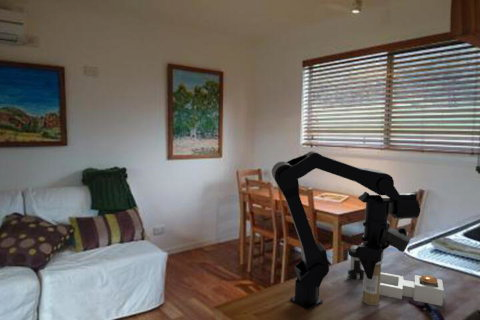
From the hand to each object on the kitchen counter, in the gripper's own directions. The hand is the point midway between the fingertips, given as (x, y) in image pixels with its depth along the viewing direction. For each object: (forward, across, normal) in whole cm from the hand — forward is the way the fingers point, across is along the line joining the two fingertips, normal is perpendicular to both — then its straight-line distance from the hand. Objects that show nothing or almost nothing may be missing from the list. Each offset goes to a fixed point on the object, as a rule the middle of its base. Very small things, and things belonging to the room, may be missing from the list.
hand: (372, 273), depth 101 cm
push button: (+8, +12, +7) cm, 16 cm away
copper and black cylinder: (+8, +11, -13) cm, 19 cm away
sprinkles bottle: (+8, 0, 0) cm, 8 cm away
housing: (+8, +10, -7) cm, 15 cm away
